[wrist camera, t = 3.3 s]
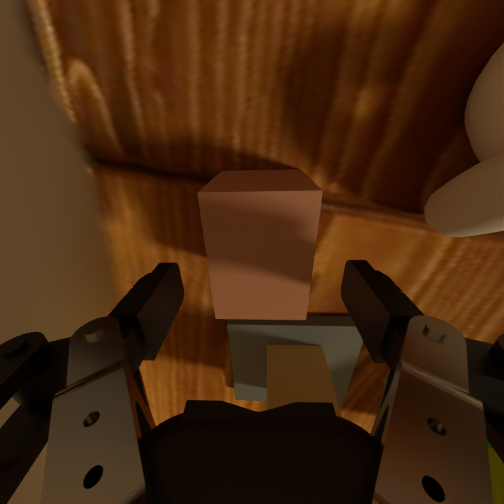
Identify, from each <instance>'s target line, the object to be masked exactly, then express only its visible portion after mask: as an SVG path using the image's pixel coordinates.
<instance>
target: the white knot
mask: <svg viewBox="0 0 504 504" xmlns="http://www.w3.org/2000/svg"><path fill="white" fill-rule="evenodd" d="M465 128H466V132H467V134H468V137H469V140H470V144H471V147H472V149H473V151H474V153H475V155H476V157H477V158H478V160H479V161H480V163H478V164H476V165H475V166H473V167H471V168H469V169H468V170H466V171H464V172H463V173H461V174H459V175H458V176H456V177H455V178H453V179H451V180H450V181H448V182H447V183H446V184H444V185H443V186H442V187H440V188H439V189H438V190H436V191H435V192H434V193H433V194H431V195H430V197H429V199H428V201H427V203H426V205H425V207H424V214H425V219H426V223H427V224H429V225H430V226H431V227H432V228H433V229H434V230H435V231H436V232H438V233H442V234H446V235H450V236H454V237H465V236H473V235H479V234H486V233H492V232H498V231H503V230H504V43H503V44H502V45H501V46H500V47H499V49H498V50H497V51H496V52H495V53H494V54H493V55H492V57H491V58H490V60H489V62H488V63H487V65H486V66H485V68H484V69H483V71H482V72H481V74H480V75H479V77H478V78H477V80H476V82H475V84H474V86H473V88H472V90H471V92H470V95H469V97H468V100H467V104H466V109H465Z"/></svg>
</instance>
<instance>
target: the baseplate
mask: <svg viewBox="0 0 504 504" xmlns="http://www.w3.org/2000/svg"><path fill="white" fill-rule="evenodd" d="M227 329H228V337H229V346H230V355H231V363H232V372H233V381H234V390H235V398H236V400H256V401H267V345H315V346H322V347H323V351H324V354H325V358H326V361H327V365H328V368H329V372H330V376H331V379H332V383H333V386H334V390H335V394H336V397H337V401H338V403H343V402H344V399H345V396H346V393H347V390H348V387H349V384H350V381H351V377H352V374H353V371H354V368H355V365H356V362H357V359H358V356H359V353H360V350H361V347H362V344H363V340H362V338H361V336H360V334H359V332H358V330H357V328H356V326H355V324H354V322H353V320H352V318H351V316H311V315H307V316H306V320H261V319H228V322H227Z"/></svg>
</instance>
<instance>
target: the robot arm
mask: <svg viewBox="0 0 504 504" xmlns="http://www.w3.org/2000/svg"><path fill="white" fill-rule="evenodd" d="M341 297H342V300H343V302H344V304H345V306H346V308H347V310H348V312H349V314H350V316H351V318H352V320H353V322H354V324H355V326H356V328H357V330H358V332H359V334H360V336H361V338H362V340H363V342H364V344H365V346H366V348H367V350H368V351H369V353H370V355H371V357H372V359H373V361H374V363H387V364H388V366H389V368H390V370H389V372H388V375H387V378H386V382H385V386H384V389H383V393H382V397H381V401H380V404H379V408H378V412H377V415H376V419H375V422H374V425H373V428H372V430H371V433H368V432H367V431H365V430H364V429H363V428H361V427H360V426H358V425H356V424H354V423H353V422H351V421H349V420H346V419H344V418H342V417H339V416H336V413H335V409H334V405H333V403H331V402H294V403H290V404H287V405H283V406H280V407H276V408H273V409H269V410H266V411H262V412H256V411H252V410H249V409H246V408H243V407H240V406H237V405H234V404H231V403H227V402H224V401H209V400H187V402H186V405H185V409H184V413H181V414H179V415H176V416H174V417H171V418H169V419H167V420H166V421H164V422H162V423H160V424H159V425H157V426H156V425H155V423H154V420H153V417H152V414H151V410H150V406H149V402H148V399H147V395H146V391H145V387H144V383H143V379H142V375H141V371H140V369H139V366H140V364H141V363H142V361H143V360H155V358H156V356H157V354H158V351H159V349H160V347H161V345H162V343H163V341H164V339H165V337H166V335H167V333H168V331H169V329H170V327H171V324H172V322H173V320H174V318H175V316H176V314H177V312H178V310H179V308H180V306H181V304H182V301H183V298H184V287H183V283H182V279H181V274H180V270H179V266H178V264H177V263H159V264H158V265H157V267H156V268H155V269H154V270H153V271H152V273H148V274H147V275H145V276H144V277H142V278H141V279H139V280H138V281H137V282H136V284H135V285H134V286H133V288H131V289H130V291H129V292H128V294H127V295H125V296H124V298H123V299H122V300H121V301H120V302H119V303H118V304H117V306H116V307H115V308H114V309H113V310H112V312H111V313H110V314H109V315H108V316H107V317H101V318H97V319H94V320H92V321H90V322H88V323H86V324H84V325H83V326H81V327H80V328H79V329H78V330H76V331H75V333H74V334H73V335H72V336H71V337H69V338H65V339H60V340H56V341H52V342H48V341H47V339H46V338H45V336H44V335H43V334H42V333H40V332H30V333H26V334H23V335H20V336H17V337H15V338H13V339H11V340H8V341H6V342H5V343H3V344H1V345H0V409H1V408H2V407H3V406H4V405H5V404H6V403H7V402H8V400H9V399H10V398H11V397H13V398H14V399H15V400H16V401H17V402H18V403H19V404H20V406H19V407H18V408H17V410H16V411H15V412H14V413H13V414H12V415H11V416H10V418H9V419H8V420H7V421H6V422H5V423H4V425H3V426H2V427H1V428H0V504H7V502H8V501H9V500H10V498H11V497H12V495H13V493H14V492H15V490H16V489H17V487H18V486H19V484H20V483H21V481H22V480H23V478H24V477H25V475H26V474H27V472H28V471H29V469H30V467H31V466H32V465H33V463H34V462H35V460H36V458H37V457H38V455H39V454H40V452H41V451H42V449H43V448H44V446H45V445H46V443H47V442H48V445H47V454H46V463H45V470H44V478H43V487H42V495H41V504H494V502H493V493H492V484H491V474H490V465H489V456H488V446H487V440H488V442H489V443H490V445H491V446H492V448H493V449H494V450H495V452H496V453H497V455H498V456H499V458H500V459H501V460H502V462H503V463H504V334H502V335H500V336H499V337H498V339H497V340H496V341H495V343H494V344H490V343H486V342H481V341H477V340H472V339H468V338H464V337H463V335H462V334H461V333H460V332H459V331H458V330H457V329H456V328H454V327H453V326H451V325H450V324H448V323H446V322H444V321H442V320H440V319H437V318H434V317H430V316H425V315H424V314H423V313H422V312H421V311H420V310H419V309H418V308H417V306H416V305H415V304H414V303H413V302H412V301H411V300H410V299H409V298H408V297H407V296H406V295H405V294H404V293H402V290H401V289H400V288H399V287H398V286H396V284H395V283H394V282H393V281H392V280H391V279H390V277H388V276H387V275H385V274H383V273H382V272H380V271H378V270H374V269H373V268H372V266H371V265H370V264H369V263H368V262H367V261H366V260H348V261H347V262H346V264H345V269H344V275H343V280H342V285H341Z"/></svg>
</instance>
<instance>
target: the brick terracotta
mask: <svg viewBox="0 0 504 504" xmlns="http://www.w3.org/2000/svg"><path fill="white" fill-rule="evenodd" d="M322 192H323V190H322V189H321V188H320V187H318V186H317V185H316V184H315V183H314V182H313V181H312V180H311V179H310V178H309V177H308V176H307V175H306V174H305V173H303V172H302V171H301V170H300V169H285V170H238V171H221V172H220V173H219V174H218V175H216V176H215V177H214V178H213V179H212V180H211V181H210V182H208V183H207V184H206V185H205V186H204V187H203V188H202V189H201V190H199V191H198V192H197V195H198V202H199V209H200V216H201V223H202V229H203V236H204V243H205V250H206V257H207V263H208V270H209V277H210V284H211V291H212V298H213V304H214V311H215V318H216V319H261V320H306V316H307V308H308V301H309V293H310V285H311V277H312V270H313V262H314V254H315V247H316V239H317V231H318V223H319V216H320V208H321V200H322Z"/></svg>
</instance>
